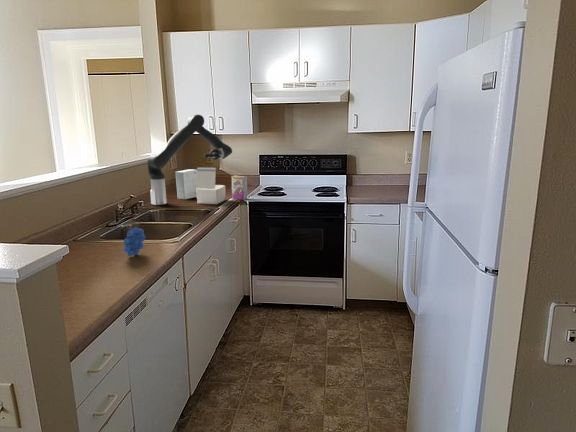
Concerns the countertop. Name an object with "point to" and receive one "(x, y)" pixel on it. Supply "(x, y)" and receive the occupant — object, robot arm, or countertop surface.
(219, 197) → the carton
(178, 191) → the hard drive box
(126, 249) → the grapes
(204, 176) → the flap
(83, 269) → the countertop surface
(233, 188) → the candy bar box
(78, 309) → the countertop surface
